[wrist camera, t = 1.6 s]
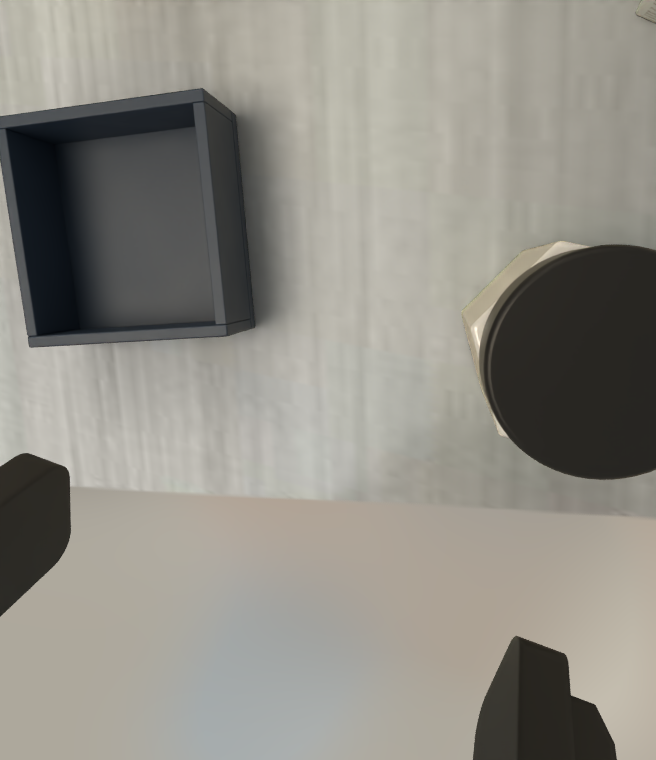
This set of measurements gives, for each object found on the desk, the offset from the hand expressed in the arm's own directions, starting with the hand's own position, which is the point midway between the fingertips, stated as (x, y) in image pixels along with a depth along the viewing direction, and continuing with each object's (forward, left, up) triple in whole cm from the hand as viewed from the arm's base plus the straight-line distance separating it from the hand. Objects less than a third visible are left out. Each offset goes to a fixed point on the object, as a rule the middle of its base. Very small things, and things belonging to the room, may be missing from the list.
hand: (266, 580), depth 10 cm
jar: (-1, +9, -24) cm, 26 cm away
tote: (-8, -13, -24) cm, 29 cm away
